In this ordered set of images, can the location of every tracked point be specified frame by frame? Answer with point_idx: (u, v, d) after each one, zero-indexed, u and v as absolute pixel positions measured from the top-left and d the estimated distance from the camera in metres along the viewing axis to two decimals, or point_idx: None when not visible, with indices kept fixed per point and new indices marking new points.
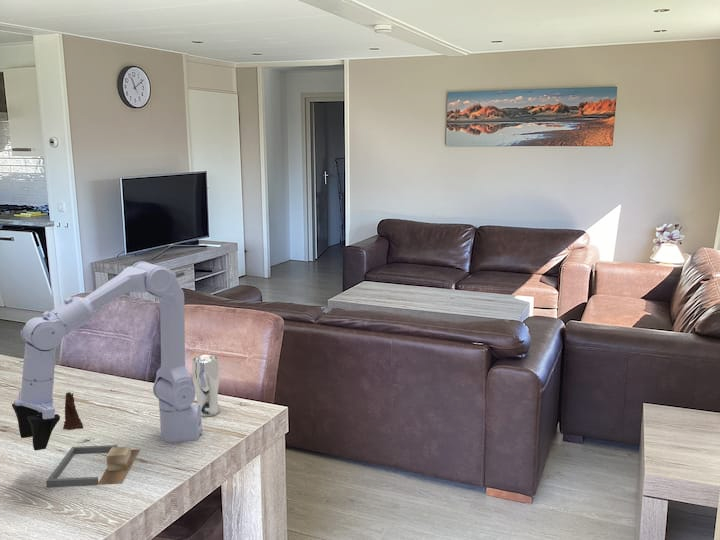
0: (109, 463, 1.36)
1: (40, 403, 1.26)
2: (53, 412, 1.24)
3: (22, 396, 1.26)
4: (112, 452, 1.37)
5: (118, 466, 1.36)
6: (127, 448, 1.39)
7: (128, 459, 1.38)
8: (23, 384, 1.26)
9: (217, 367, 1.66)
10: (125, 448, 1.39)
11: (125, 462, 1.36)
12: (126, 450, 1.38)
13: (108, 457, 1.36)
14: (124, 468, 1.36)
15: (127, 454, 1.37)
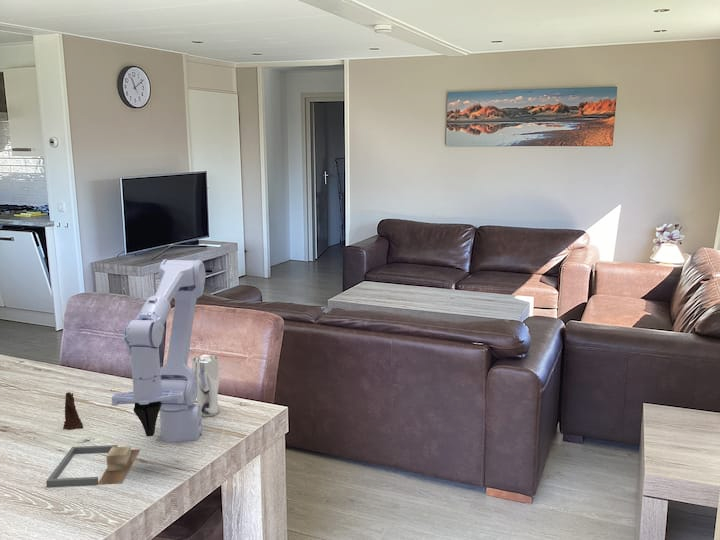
0: (109, 463, 1.36)
1: (161, 394, 1.36)
2: (183, 395, 1.37)
3: (145, 395, 1.33)
4: (112, 452, 1.37)
5: (118, 466, 1.36)
6: (127, 448, 1.39)
7: (128, 459, 1.38)
8: (143, 384, 1.32)
9: (217, 367, 1.66)
10: (125, 448, 1.39)
11: (125, 462, 1.36)
12: (126, 450, 1.38)
13: (108, 457, 1.36)
14: (124, 468, 1.36)
15: (127, 454, 1.37)
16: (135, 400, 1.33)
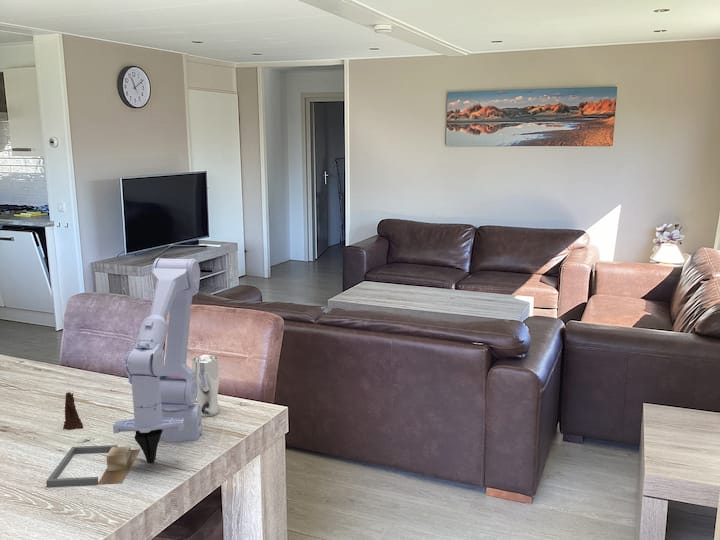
0: (109, 463, 1.36)
1: (162, 422, 1.37)
2: (183, 422, 1.38)
3: (146, 423, 1.34)
4: (112, 452, 1.37)
5: (118, 466, 1.36)
6: (127, 448, 1.39)
7: (128, 459, 1.38)
8: (144, 412, 1.33)
9: (217, 367, 1.66)
10: (125, 448, 1.39)
11: (125, 462, 1.36)
12: (126, 450, 1.38)
13: (108, 457, 1.36)
14: (124, 468, 1.36)
15: (127, 454, 1.37)
16: (136, 428, 1.34)
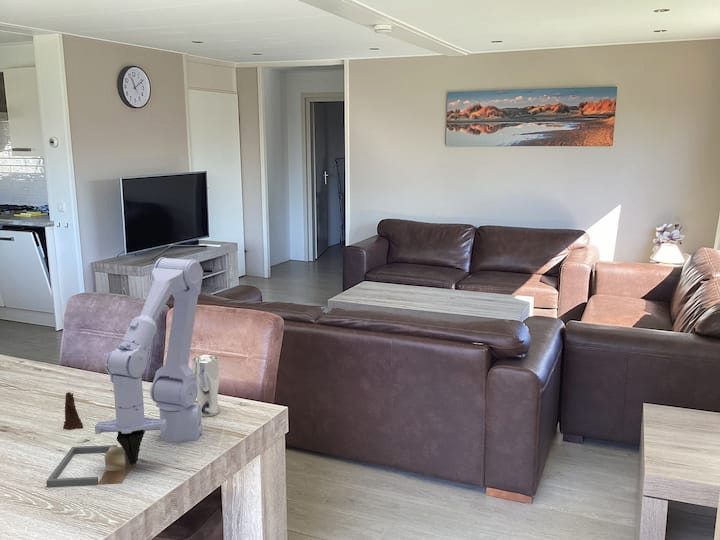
0: (107, 463, 1.36)
1: (144, 422, 1.37)
2: (166, 422, 1.38)
3: (128, 424, 1.34)
4: (110, 452, 1.37)
5: (116, 466, 1.36)
6: None
7: (126, 459, 1.38)
8: (126, 413, 1.33)
9: (217, 367, 1.66)
10: None
11: (123, 462, 1.36)
12: None
13: (106, 457, 1.36)
14: (123, 468, 1.36)
15: (125, 454, 1.37)
16: (118, 429, 1.34)
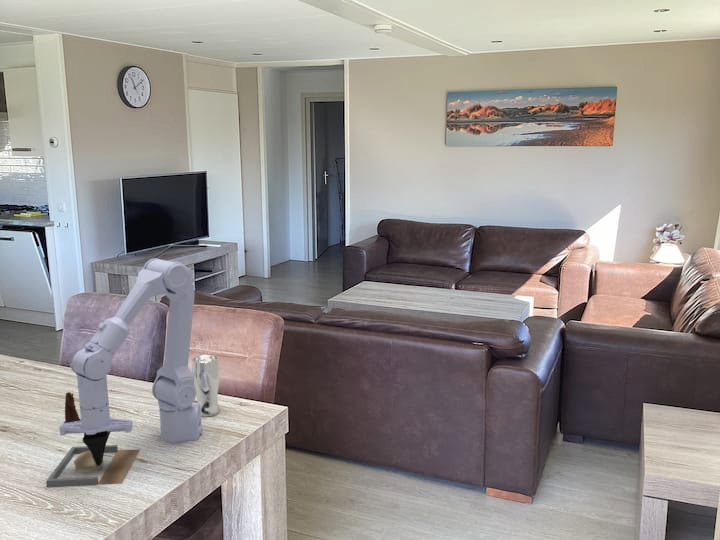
0: (78, 468, 1.36)
1: (110, 423, 1.36)
2: None
3: (93, 425, 1.33)
4: (79, 457, 1.37)
5: (87, 469, 1.36)
6: None
7: None
8: (90, 414, 1.32)
9: (217, 367, 1.66)
10: None
11: (93, 463, 1.36)
12: None
13: (76, 463, 1.35)
14: (95, 469, 1.36)
15: None
16: (82, 430, 1.33)
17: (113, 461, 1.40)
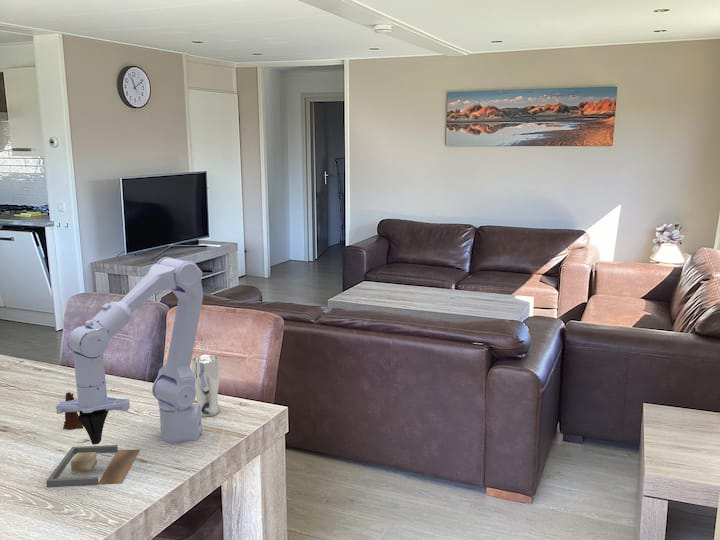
0: (73, 469, 1.36)
1: (107, 402, 1.35)
2: None
3: (89, 403, 1.32)
4: (77, 458, 1.37)
5: None
6: (92, 454, 1.38)
7: (93, 465, 1.38)
8: (87, 392, 1.32)
9: (217, 367, 1.66)
10: (90, 454, 1.38)
11: (89, 468, 1.36)
12: (91, 456, 1.38)
13: (72, 463, 1.35)
14: None
15: (92, 460, 1.37)
16: (79, 408, 1.32)
17: (113, 461, 1.40)
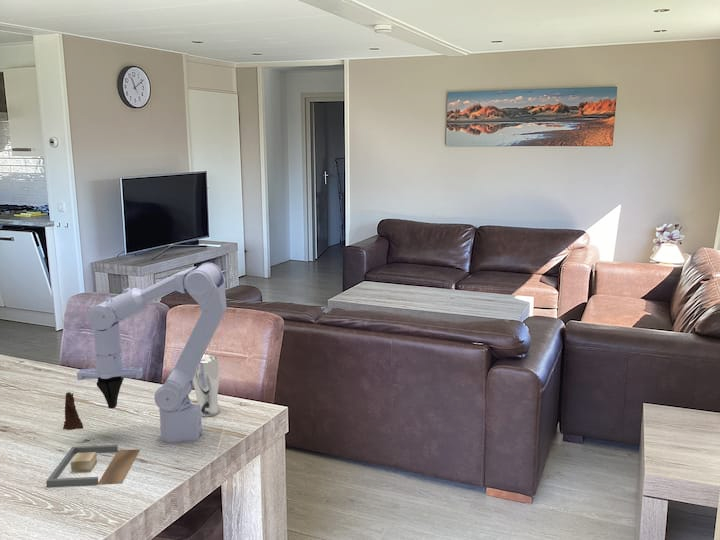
0: (73, 469, 1.36)
1: (122, 370, 1.50)
2: None
3: (107, 370, 1.47)
4: (77, 458, 1.37)
5: None
6: (92, 454, 1.38)
7: (93, 465, 1.38)
8: (105, 360, 1.47)
9: (217, 367, 1.66)
10: (90, 454, 1.38)
11: (89, 468, 1.36)
12: (91, 456, 1.38)
13: (72, 463, 1.35)
14: None
15: (92, 460, 1.37)
16: (98, 375, 1.48)
17: (113, 461, 1.40)
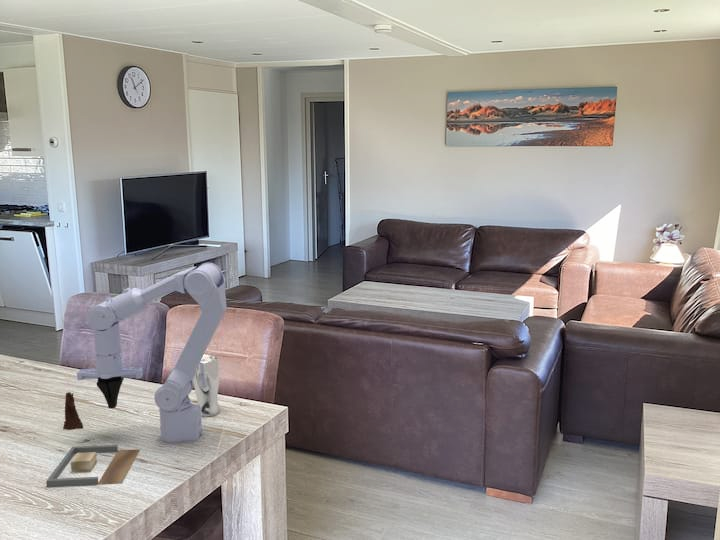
0: (73, 469, 1.36)
1: (122, 370, 1.50)
2: None
3: (107, 370, 1.47)
4: (77, 458, 1.37)
5: None
6: (92, 454, 1.38)
7: (93, 465, 1.38)
8: (105, 360, 1.47)
9: (217, 367, 1.66)
10: (90, 454, 1.38)
11: (89, 468, 1.36)
12: (91, 456, 1.38)
13: (72, 463, 1.35)
14: None
15: (92, 460, 1.37)
16: (98, 375, 1.48)
17: (113, 461, 1.40)
